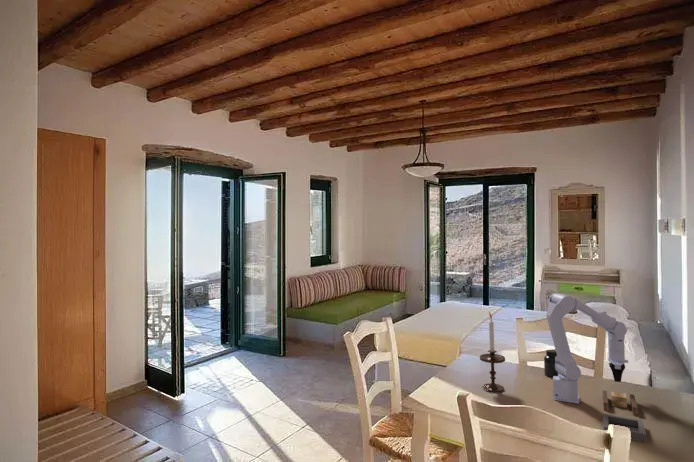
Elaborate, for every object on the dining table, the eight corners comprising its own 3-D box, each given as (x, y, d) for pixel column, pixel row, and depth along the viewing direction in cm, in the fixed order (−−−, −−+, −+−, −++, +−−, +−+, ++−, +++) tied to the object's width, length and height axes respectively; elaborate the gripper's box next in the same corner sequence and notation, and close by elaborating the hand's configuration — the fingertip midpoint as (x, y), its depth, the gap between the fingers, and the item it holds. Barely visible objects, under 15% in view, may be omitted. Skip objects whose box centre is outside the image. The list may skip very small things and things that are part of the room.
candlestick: (479, 392, 185) (477, 313, 185) (481, 383, 195) (479, 309, 195) (505, 394, 181) (503, 314, 181) (506, 386, 191) (504, 310, 191)
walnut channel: (603, 410, 163) (603, 402, 163) (602, 397, 175) (602, 390, 175) (637, 415, 158) (637, 407, 158) (634, 402, 170) (634, 394, 170)
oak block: (612, 405, 168) (611, 395, 168) (611, 401, 172) (611, 391, 172) (626, 408, 165) (626, 398, 165) (626, 403, 169) (625, 393, 169)
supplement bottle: (561, 378, 199) (561, 353, 199) (546, 377, 200) (545, 352, 200) (557, 373, 206) (556, 349, 206) (542, 372, 207) (542, 348, 207)
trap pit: (604, 434, 145) (604, 426, 145) (603, 420, 155) (602, 413, 155) (646, 442, 139) (646, 434, 139) (642, 426, 149) (642, 420, 149)
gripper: (629, 354, 167) (630, 388, 167) (626, 345, 180) (627, 377, 180) (608, 352, 171) (609, 385, 171) (607, 344, 183) (608, 374, 183)
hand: (617, 381), depth 175 cm, fingers closed
